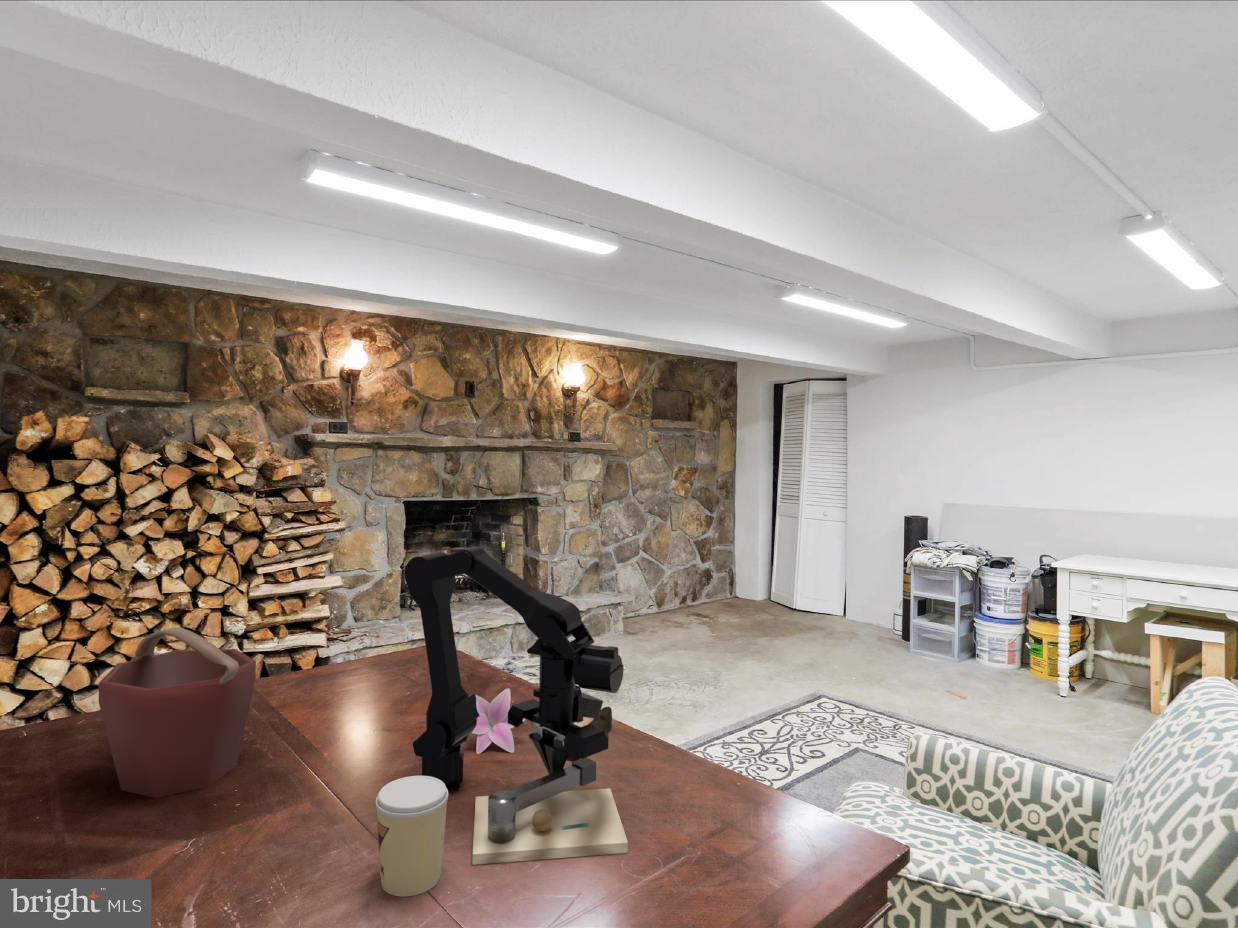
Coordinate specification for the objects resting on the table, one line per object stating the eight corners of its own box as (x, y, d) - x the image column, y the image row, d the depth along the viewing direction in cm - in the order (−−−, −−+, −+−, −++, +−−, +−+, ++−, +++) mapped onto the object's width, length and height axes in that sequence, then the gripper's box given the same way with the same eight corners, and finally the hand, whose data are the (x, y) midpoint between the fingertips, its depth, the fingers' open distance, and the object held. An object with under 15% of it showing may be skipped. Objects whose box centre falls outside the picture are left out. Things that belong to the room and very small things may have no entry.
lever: (498, 845, 101) (498, 805, 100) (482, 834, 103) (482, 795, 103) (598, 798, 114) (599, 763, 114) (581, 789, 117) (582, 755, 117)
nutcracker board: (472, 864, 99) (473, 832, 99) (475, 805, 115) (476, 778, 114) (627, 852, 103) (628, 822, 102) (610, 797, 118) (610, 770, 118)
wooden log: (579, 764, 130) (580, 739, 130) (560, 759, 132) (561, 735, 132) (622, 728, 148) (623, 706, 147) (605, 724, 149) (606, 702, 149)
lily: (446, 753, 136) (453, 719, 131) (473, 709, 146) (480, 676, 141) (504, 778, 134) (512, 744, 130) (527, 731, 144) (536, 699, 140)
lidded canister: (384, 858, 100) (385, 774, 99) (451, 856, 101) (453, 773, 100) (366, 901, 90) (367, 809, 90) (440, 899, 91) (442, 808, 91)
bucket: (271, 777, 122) (272, 633, 121) (117, 826, 106) (117, 661, 105) (222, 734, 139) (222, 608, 138) (82, 771, 123) (82, 628, 122)
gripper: (634, 686, 112) (632, 783, 113) (558, 658, 125) (556, 746, 126) (582, 704, 104) (579, 808, 105) (506, 672, 117) (504, 765, 118)
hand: (555, 779), depth 113 cm, fingers closed
